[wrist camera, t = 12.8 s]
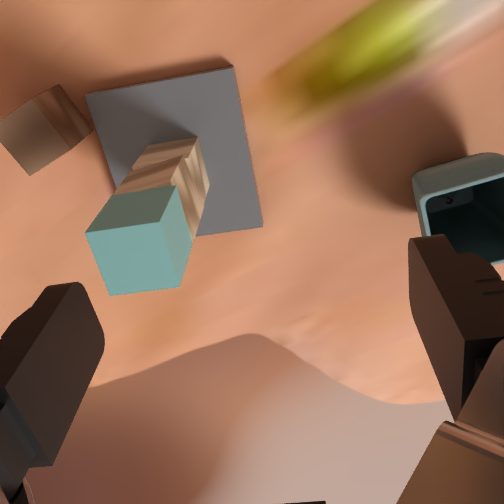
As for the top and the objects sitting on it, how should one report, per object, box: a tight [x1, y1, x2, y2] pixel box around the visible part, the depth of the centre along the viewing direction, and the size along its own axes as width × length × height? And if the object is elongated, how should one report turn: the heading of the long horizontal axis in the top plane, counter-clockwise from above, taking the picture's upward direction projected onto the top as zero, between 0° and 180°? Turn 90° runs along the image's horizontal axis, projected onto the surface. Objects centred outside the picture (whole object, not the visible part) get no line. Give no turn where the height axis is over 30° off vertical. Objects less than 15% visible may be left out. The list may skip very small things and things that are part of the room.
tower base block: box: [132, 137, 210, 205], centre depth 44 cm, size 5×5×6 cm
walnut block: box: [0, 84, 93, 176], centre depth 44 cm, size 5×5×6 cm
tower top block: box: [113, 155, 204, 240], centre depth 39 cm, size 5×5×6 cm
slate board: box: [84, 66, 263, 237], centre depth 47 cm, size 16×14×1 cm
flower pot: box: [412, 153, 504, 265], centre depth 44 cm, size 9×9×9 cm
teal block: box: [85, 185, 193, 296], centre depth 34 cm, size 5×5×6 cm
